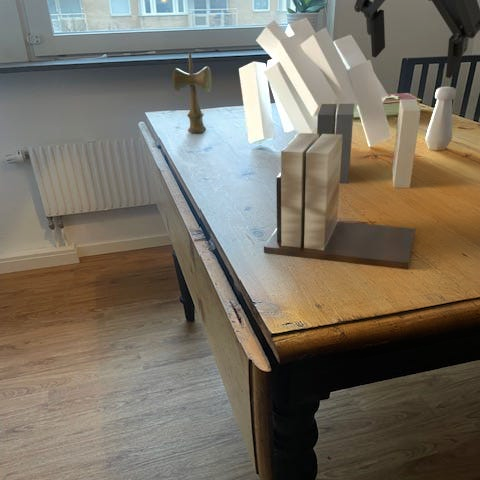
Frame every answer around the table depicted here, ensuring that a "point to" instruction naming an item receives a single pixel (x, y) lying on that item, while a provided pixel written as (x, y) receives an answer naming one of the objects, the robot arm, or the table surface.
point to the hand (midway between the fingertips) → (414, 61)
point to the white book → (405, 142)
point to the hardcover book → (391, 104)
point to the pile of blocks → (310, 82)
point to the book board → (358, 245)
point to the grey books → (338, 131)
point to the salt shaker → (441, 120)
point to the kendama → (193, 92)
